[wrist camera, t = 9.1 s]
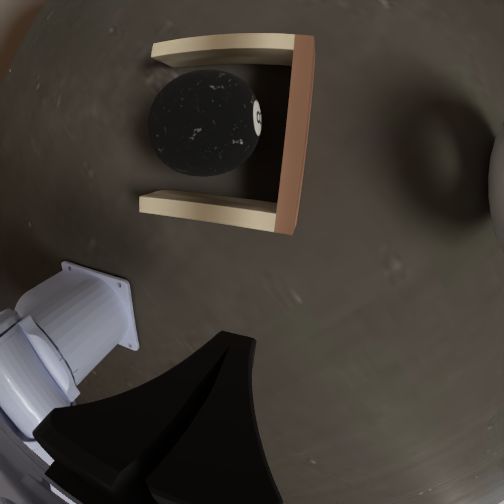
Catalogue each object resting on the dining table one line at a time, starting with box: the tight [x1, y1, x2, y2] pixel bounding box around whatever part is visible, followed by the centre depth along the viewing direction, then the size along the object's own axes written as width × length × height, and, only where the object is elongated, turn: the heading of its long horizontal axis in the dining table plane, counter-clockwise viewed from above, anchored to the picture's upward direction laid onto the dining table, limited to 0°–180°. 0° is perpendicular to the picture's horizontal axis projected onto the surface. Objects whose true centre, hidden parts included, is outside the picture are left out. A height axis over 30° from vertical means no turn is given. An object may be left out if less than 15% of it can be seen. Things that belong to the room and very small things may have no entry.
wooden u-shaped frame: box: [139, 33, 315, 235], centre depth 15 cm, size 10×11×3 cm
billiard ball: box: [149, 70, 261, 176], centre depth 14 cm, size 6×6×6 cm
